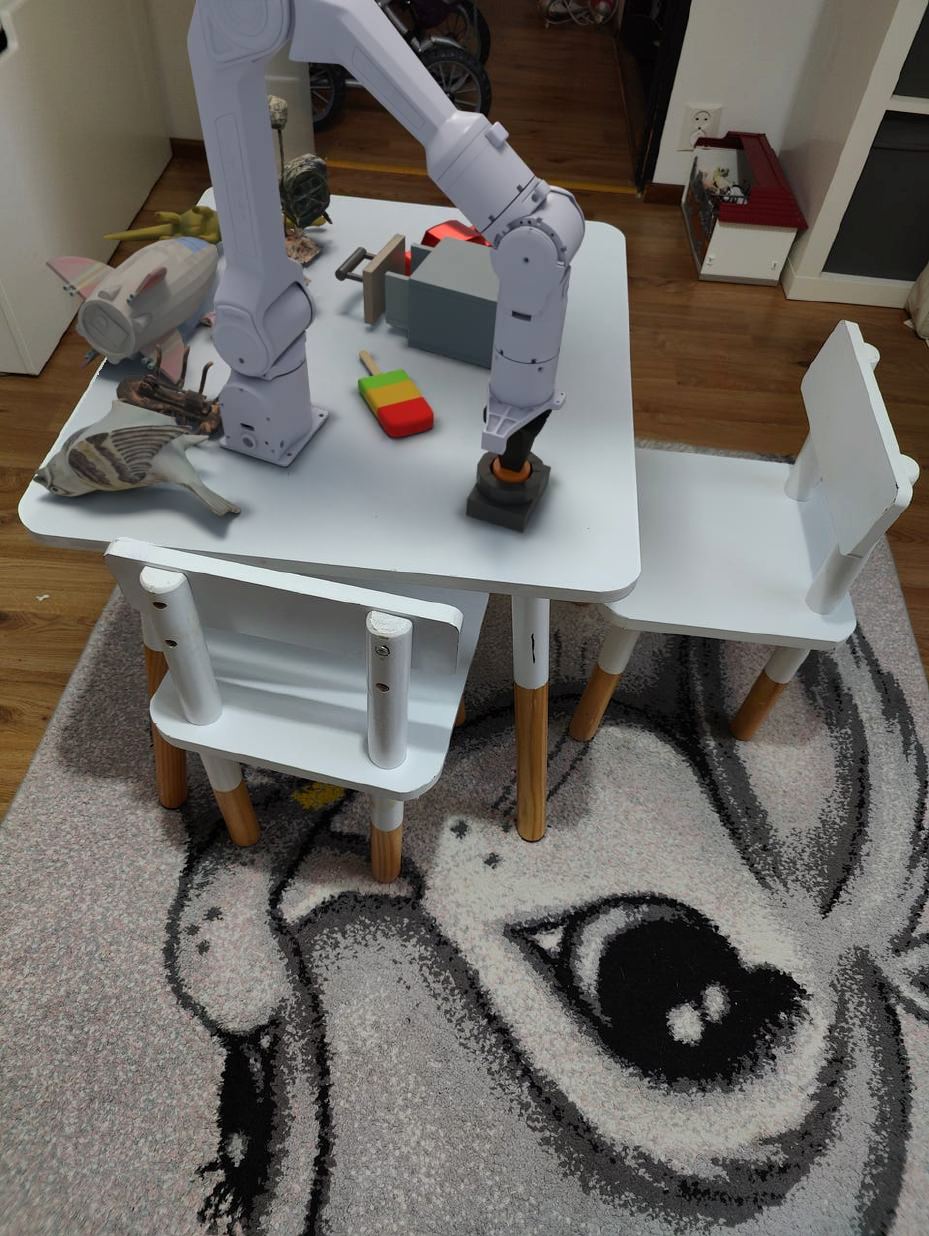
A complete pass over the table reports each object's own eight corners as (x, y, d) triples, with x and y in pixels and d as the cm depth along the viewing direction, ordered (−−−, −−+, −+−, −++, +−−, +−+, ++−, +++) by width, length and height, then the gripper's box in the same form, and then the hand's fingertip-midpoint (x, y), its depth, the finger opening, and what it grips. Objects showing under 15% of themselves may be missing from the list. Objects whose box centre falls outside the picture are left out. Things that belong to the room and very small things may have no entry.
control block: (525, 534, 87) (529, 504, 84) (463, 514, 88) (465, 484, 85) (550, 483, 91) (555, 453, 88) (491, 465, 93) (494, 434, 90)
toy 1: (291, 191, 107) (324, 200, 120) (51, 218, 112) (107, 224, 125) (297, 235, 109) (329, 239, 122) (61, 260, 114) (115, 262, 126)
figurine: (31, 376, 81) (9, 484, 82) (222, 417, 78) (198, 529, 78) (88, 398, 90) (67, 496, 90) (261, 436, 86) (239, 536, 87)
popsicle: (390, 441, 94) (390, 427, 93) (339, 363, 103) (339, 349, 101) (437, 429, 96) (438, 414, 94) (384, 353, 104) (384, 339, 103)
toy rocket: (187, 280, 116) (165, 184, 108) (270, 292, 113) (254, 193, 105) (75, 373, 99) (38, 267, 91) (170, 388, 97) (141, 281, 88)
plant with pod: (349, 258, 117) (341, 92, 101) (266, 275, 113) (244, 105, 98) (326, 229, 121) (314, 66, 106) (245, 245, 117) (221, 78, 102)
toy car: (475, 243, 121) (477, 207, 117) (503, 260, 119) (507, 224, 115) (395, 276, 115) (395, 239, 111) (423, 295, 112) (424, 258, 109)
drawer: (330, 313, 107) (326, 260, 102) (364, 276, 113) (362, 224, 108) (445, 346, 104) (447, 292, 99) (474, 306, 110) (478, 253, 105)
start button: (521, 496, 86) (523, 482, 85) (486, 485, 87) (488, 471, 86) (533, 473, 88) (535, 459, 87) (499, 463, 89) (500, 449, 88)
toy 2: (249, 364, 95) (248, 399, 99) (141, 328, 94) (145, 365, 98) (205, 439, 87) (205, 474, 91) (87, 401, 87) (93, 438, 91)
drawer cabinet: (408, 345, 105) (408, 278, 99) (442, 301, 112) (444, 235, 105) (499, 371, 103) (506, 304, 96) (529, 324, 110) (537, 258, 103)
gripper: (544, 404, 71) (526, 526, 81) (595, 313, 79) (573, 433, 90) (461, 381, 72) (454, 503, 83) (521, 293, 81) (508, 414, 91)
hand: (512, 466), depth 86 cm, fingers closed, pressing on start button
